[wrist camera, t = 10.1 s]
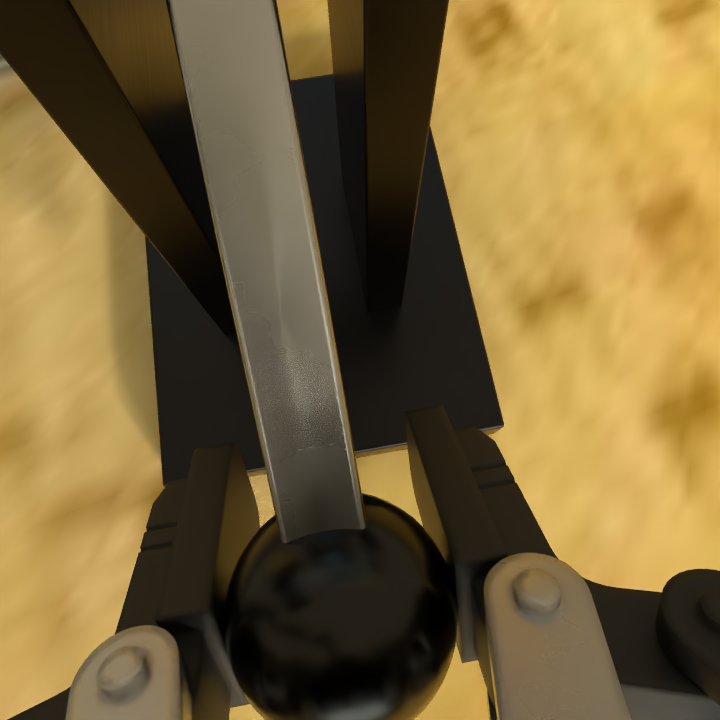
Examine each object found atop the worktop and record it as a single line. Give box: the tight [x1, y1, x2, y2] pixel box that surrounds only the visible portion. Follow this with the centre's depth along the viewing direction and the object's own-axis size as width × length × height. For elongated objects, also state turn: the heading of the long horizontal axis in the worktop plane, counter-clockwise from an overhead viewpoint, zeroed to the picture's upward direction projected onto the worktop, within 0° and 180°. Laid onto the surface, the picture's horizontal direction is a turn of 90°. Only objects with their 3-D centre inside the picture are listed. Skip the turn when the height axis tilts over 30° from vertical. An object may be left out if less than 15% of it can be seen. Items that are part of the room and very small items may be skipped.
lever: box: [166, 0, 458, 720], centre depth 7 cm, size 13×3×3 cm, turn 11°
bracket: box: [0, 0, 504, 487], centre depth 10 cm, size 12×9×14 cm
